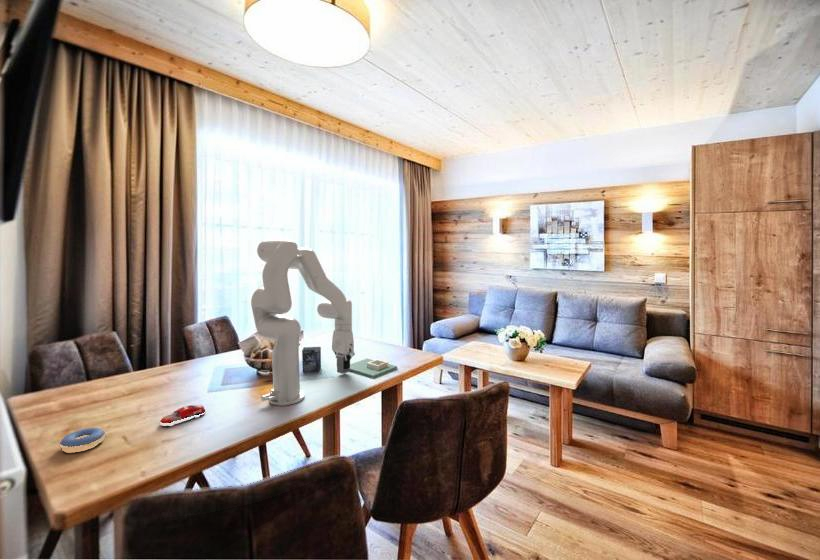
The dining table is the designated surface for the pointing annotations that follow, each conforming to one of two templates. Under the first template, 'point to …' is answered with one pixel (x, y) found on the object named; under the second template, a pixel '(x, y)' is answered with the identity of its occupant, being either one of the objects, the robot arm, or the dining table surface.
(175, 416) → the race car
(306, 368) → the box
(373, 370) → the board
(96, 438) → the doughnut
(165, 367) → the dining table surface
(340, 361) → the plug
